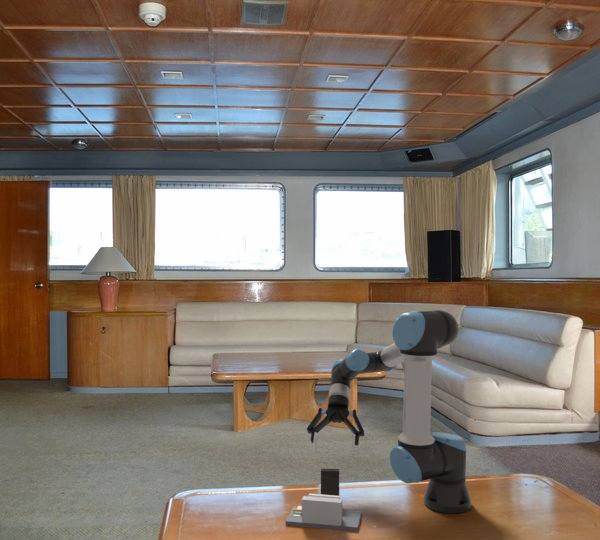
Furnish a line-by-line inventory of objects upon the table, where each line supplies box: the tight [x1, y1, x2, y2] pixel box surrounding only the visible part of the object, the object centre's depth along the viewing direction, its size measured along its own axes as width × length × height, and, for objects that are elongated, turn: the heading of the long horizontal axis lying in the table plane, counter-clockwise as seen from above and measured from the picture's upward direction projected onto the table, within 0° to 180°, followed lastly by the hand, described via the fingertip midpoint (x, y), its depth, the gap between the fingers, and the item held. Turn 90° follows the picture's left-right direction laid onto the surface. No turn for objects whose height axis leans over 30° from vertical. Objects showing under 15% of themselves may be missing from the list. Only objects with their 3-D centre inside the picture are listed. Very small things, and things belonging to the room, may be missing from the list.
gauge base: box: [285, 495, 363, 532], centre depth 189 cm, size 22×12×8 cm, turn 78°
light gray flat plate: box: [293, 493, 342, 512], centre depth 190 cm, size 15×1×6 cm, turn 78°
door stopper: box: [320, 468, 340, 496], centre depth 200 cm, size 9×6×12 cm, turn 174°
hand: (333, 452), depth 209 cm, fingers open, 13 cm apart
